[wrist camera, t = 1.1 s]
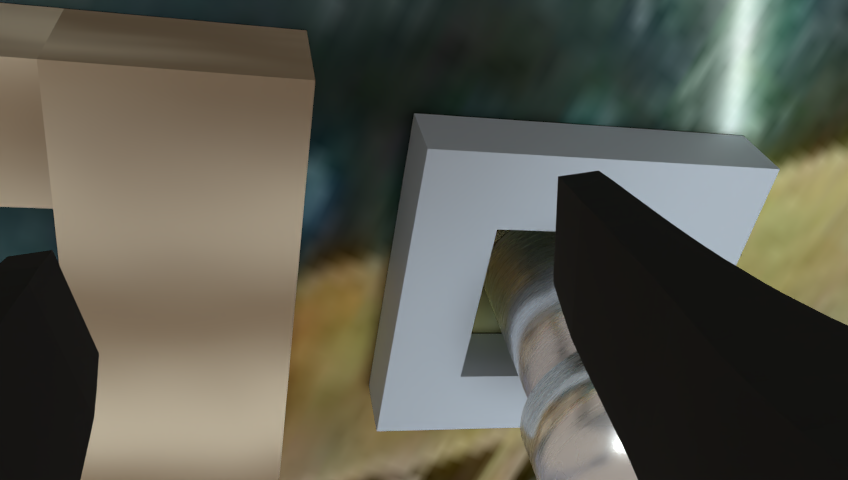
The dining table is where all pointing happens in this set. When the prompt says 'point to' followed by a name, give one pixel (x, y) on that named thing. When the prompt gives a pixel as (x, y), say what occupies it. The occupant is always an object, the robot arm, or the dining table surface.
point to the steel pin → (550, 367)
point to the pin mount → (532, 211)
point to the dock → (168, 222)
